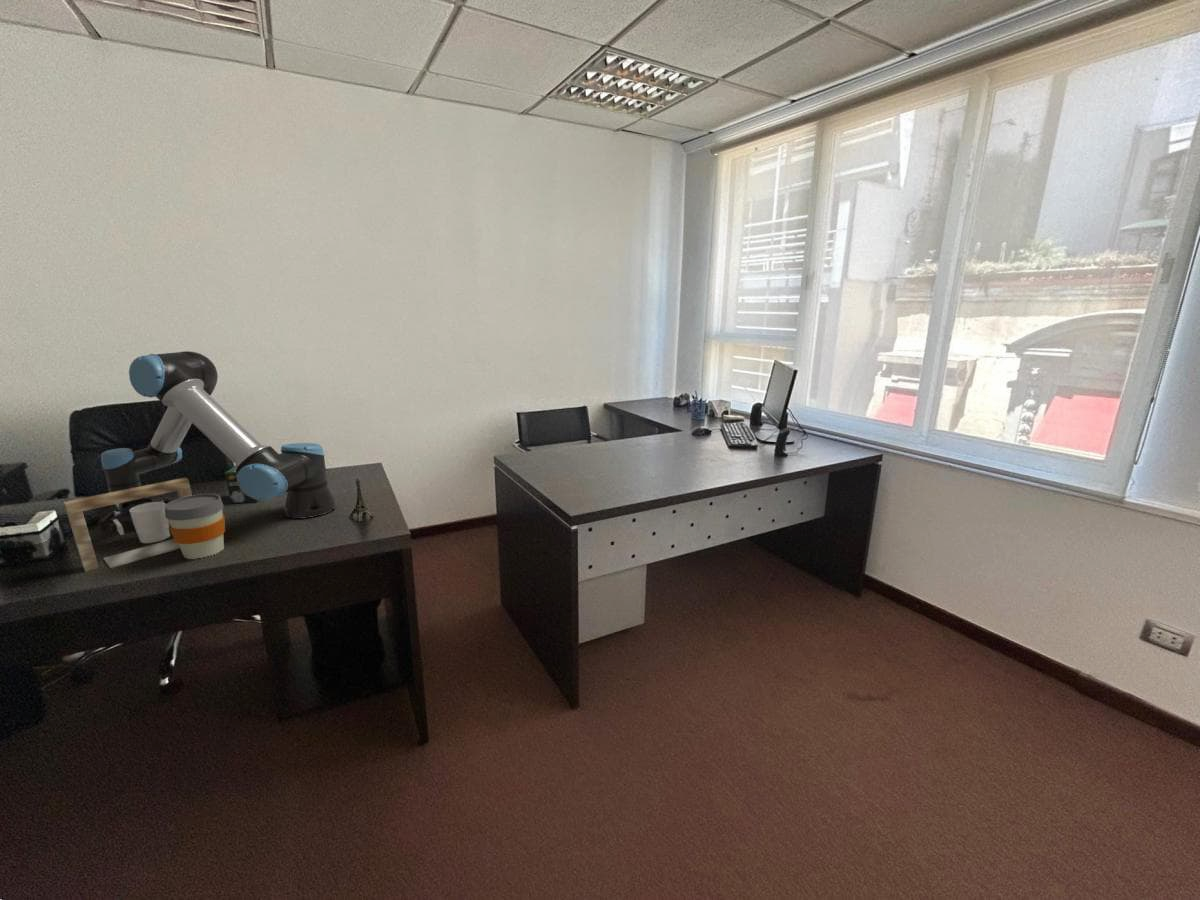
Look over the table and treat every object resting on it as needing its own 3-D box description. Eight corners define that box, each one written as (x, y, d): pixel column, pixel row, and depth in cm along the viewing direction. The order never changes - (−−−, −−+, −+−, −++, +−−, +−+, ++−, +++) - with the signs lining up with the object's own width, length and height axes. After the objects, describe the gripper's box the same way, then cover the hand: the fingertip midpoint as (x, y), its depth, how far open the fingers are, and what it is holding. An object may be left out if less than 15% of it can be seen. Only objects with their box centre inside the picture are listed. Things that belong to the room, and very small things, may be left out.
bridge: (195, 533, 151) (182, 475, 145) (204, 541, 146) (191, 481, 141) (81, 565, 132) (62, 499, 127) (87, 574, 127) (67, 507, 122)
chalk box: (271, 493, 183) (264, 454, 179) (258, 502, 175) (250, 462, 171) (244, 494, 182) (237, 455, 178) (229, 503, 174) (221, 462, 169)
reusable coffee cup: (168, 566, 132) (155, 513, 128) (184, 545, 143) (172, 496, 139) (225, 557, 137) (214, 506, 133) (236, 538, 148) (227, 491, 144)
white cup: (178, 535, 149) (171, 504, 146) (146, 546, 142) (138, 514, 139) (163, 530, 152) (156, 500, 149) (131, 541, 145) (123, 509, 143)
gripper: (186, 503, 167) (208, 520, 154) (82, 528, 148) (96, 549, 135) (182, 482, 165) (203, 498, 152) (75, 504, 146) (89, 524, 133)
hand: (153, 522), depth 144 cm, fingers open, 13 cm apart
